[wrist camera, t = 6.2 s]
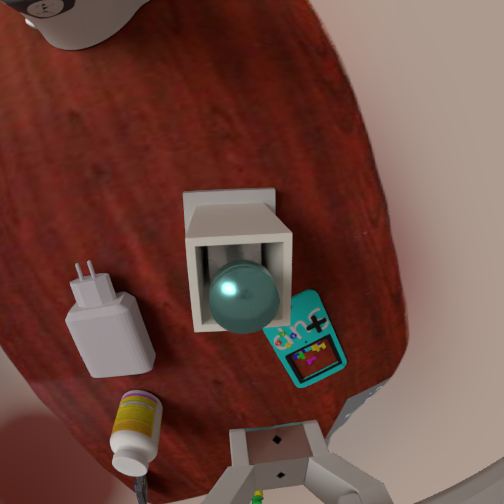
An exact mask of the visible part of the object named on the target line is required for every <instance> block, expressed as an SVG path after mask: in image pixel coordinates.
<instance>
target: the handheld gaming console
mask: <svg viewBox="0 0 504 504" xmlns="http://www.w3.org/2000/svg"><path fill="white" fill-rule="evenodd" d="M263 331H264V333H265V334H266V336H267V338H268V340H269V341H270V343H271V345H272V346H273V348H274V350H275V352H276V353H277V355H278V357H279V358H280V360H281V362H282V363H283V365H284V367H285V368H286V370H287V372H288V373H289V375H290V377H291V379H292V380H293V382H294V384H295V385H296V386H297V387H299V388H304V387H307V386H309V385H311V384H313V383H315V382H317V381H319V380H321V379H323V378H325V377H327V376H329V375H331V374H333V373H335V372H337V371H339V370H341V369H343V368H344V367H345V365H346V363H347V361H346V358H345V356H344V353H343V351H342V349H341V346H340V344H339V341H338V339H337V337H336V334H335V332H334V330H333V327H332V325H331V323H330V320H329V318H328V316H327V314H326V311H325V309H324V307H323V304H322V302H321V300H320V298H319V295H318V294H317V292H316V291H315V290H312V289H308V290H305V291H303V292H301V293H299V294H297V295H295V296H293V297H291V313H290V326H279V327H268V328H263ZM325 338H327V339H328V342H329V344H330V346H331V348H332V350H333V352H334V354H335V356H336V358H337V360H338V362H336V363H334V364H332V365H330V366H328V367H326V368H324V369H322V370H320V371H318V372H316V373H314V374H312V375H310V376H308V377H306V378H304V379H302V378H301V376H300V375H299V373H298V371H297V369H296V368H295V366H294V364H293V363H292V361H291V359H290V358H289V356H291V355H293V357H294V359H295V360H296V359H298V358H300V357H301V358H302V359H304V358H305V356H304V355H303V353H305V352H307V351H309V350H311V349H312V350H313V351H315V350H317V352H318V351H320V349H319V348H320V347H323V349H324V348H326V346H325V344H324V343H322V344H321V343H320V342H321V341H323V339H325ZM307 347H308V348H307ZM303 349H304V350H303ZM308 349H309V350H308ZM301 350H302V351H301ZM315 359H316V357H313V358H311V359H309V360H307V362H308V364H309V365H310V364H312V363H311V361H313V360H315Z"/></svg>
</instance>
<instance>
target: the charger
mask: <svg viewBox="0 0 504 504" xmlns="http://www.w3.org/2000/svg"><path fill="white" fill-rule="evenodd" d="M87 264H88V267H89V270H90V273H91V275H89V276H85V277H83V274H82V271H81V268H80V265H79V263H76V264H75V266H76V269H77V272H78V275H79V279H76V280H73V281H71V282H69V283H70V285H71V288H72V291H73V294H74V296H75V299H76V303H75V305H74V306H73V307H72V308H71V310H70V311H69V312H68V315H67V317H66V319H65V321H66V323H67V326H68V328H69V330H70V333H71V335H72V337H73V339H74V342H75V344H76V346H77V348H78V350H79V352H80V354H81V356H82V358H83V360H84V362H85V364H86V366H87V368H88V370H89V372H90V374H91V376H92V377H95V378H102V377H113V376H123V375H132V374H141V373H145V372H148V371H150V370H152V368H153V364H154V360H155V356H156V354H155V351H154V349H153V346H152V343H151V341H150V338H149V336H148V333H147V330H146V327H145V325H144V322H143V319H142V316H141V313H140V310H139V308H138V305H137V302H136V299H135V297H134V296H132V295H130V294H128V293H127V292H119V293H115V292H114V289H113V286H112V283H111V280H110V277H109V274H107V273H99V274H95V272H94V269H93V266H92V263H91V261H90V260H89V261H87Z"/></svg>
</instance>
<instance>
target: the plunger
mask: <svg viewBox="0 0 504 504" xmlns="http://www.w3.org/2000/svg"><path fill="white" fill-rule="evenodd" d="M208 260H209V275H210V280H211V283H210V288H209V308H210V312H211V315H212V317H213V318H214V320H215V321H216V322H217V323H218V324H219V325H220V326H221V327H222V328H224V329H226V330H228V331H230V332H233V333H239V334H247V333H253V332H256V331H259V330H261V329H263V328H264V327H266V326H267V325H268V324H269V323H270V322H271V321H272V320H273V319H274V317H275V316H276V314H277V312H278V309H279V305H280V297H279V292H278V290H277V287H276V285H275V283H274V281H273V278H272V276H271V275H270V273H269V272H268V270H267V269H266V268H265V267H263V266H262V265H261V243H251V244H232V245H213V246H208Z"/></svg>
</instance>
